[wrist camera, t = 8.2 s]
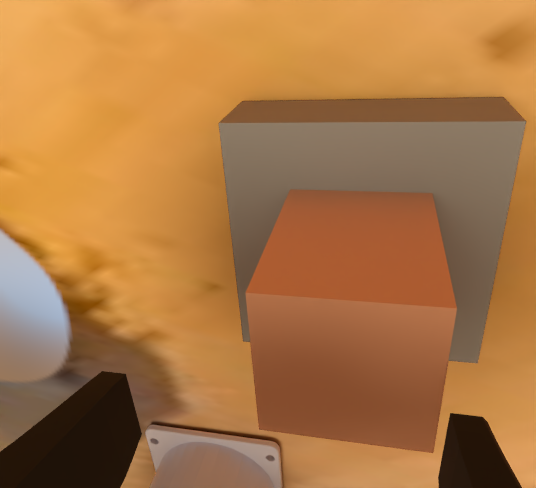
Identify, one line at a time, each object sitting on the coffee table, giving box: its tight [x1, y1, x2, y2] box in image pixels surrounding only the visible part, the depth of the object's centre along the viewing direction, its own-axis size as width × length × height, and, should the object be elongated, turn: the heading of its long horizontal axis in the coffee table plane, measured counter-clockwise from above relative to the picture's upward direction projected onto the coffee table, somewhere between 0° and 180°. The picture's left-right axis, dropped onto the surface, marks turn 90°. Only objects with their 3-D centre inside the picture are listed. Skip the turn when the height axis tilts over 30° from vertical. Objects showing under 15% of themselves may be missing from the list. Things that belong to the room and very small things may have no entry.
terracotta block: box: [246, 189, 457, 453], centre depth 14 cm, size 4×4×6 cm
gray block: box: [219, 97, 526, 363], centre depth 18 cm, size 9×9×3 cm
